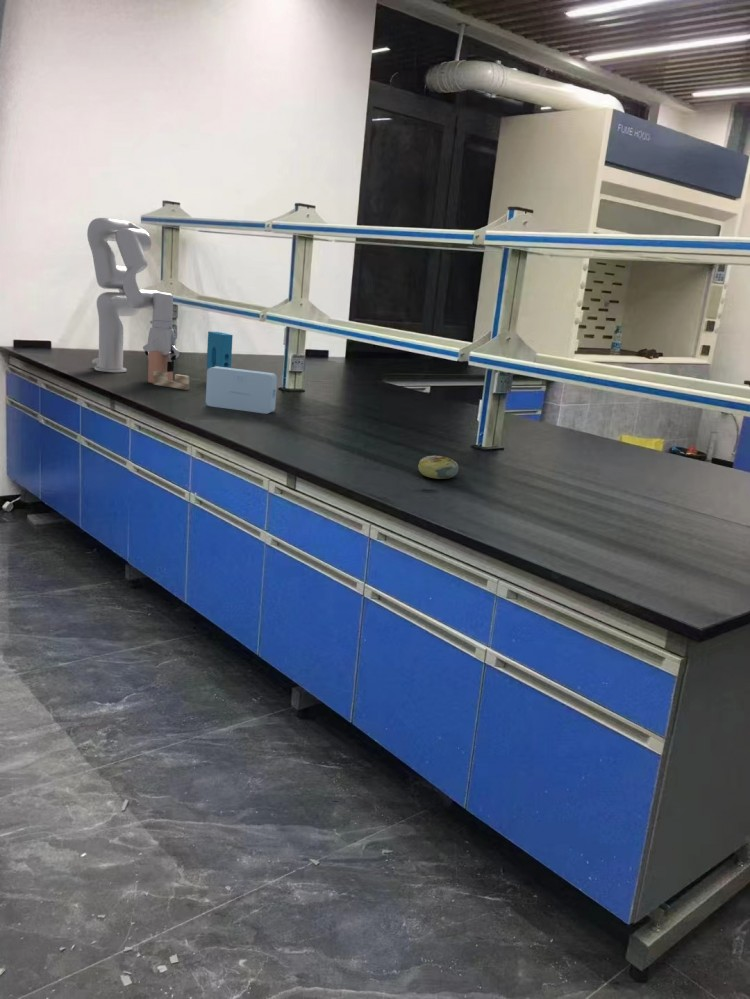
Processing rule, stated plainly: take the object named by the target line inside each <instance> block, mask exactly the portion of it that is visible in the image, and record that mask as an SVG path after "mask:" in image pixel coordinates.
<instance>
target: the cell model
mask: <svg viewBox="0 0 750 999" xmlns="http://www.w3.org/2000/svg"><path fill="white" fill-rule="evenodd" d="M417 466H418V471H419V473H420V474H421V475H423V476H424V477H426V478H427V477H428V478H431V479H437V480H443V479H451V478H453V477H455V476H456V475H457V474H458V473H459V464H458V463H457V461H455V460H454V459H452V458H450V457H447V456H442V455H428V456H427V455H426V456H425V457H422V458H421V459H420V460H419V463H418V465H417Z"/></svg>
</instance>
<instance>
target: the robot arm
mask: <svg viewBox="0 0 750 999" xmlns="http://www.w3.org/2000/svg"><path fill="white" fill-rule="evenodd" d="M86 232H87V235H86V236H87V241H88V245H89V248H90V251H91V254H92V259H93V266H94V274H95V277H96V282H97V284H98V286H99V287H100V288H102V289H104V290H105V289H106V290H118V292H116V291H105V292H103V293H101V294H100V295H98V296H97V299H96V309H97V314H98V315H97V316H98V357H97V358H93V359H92V360H91V363H92V364H96V365H95V366H94V370H95V371H97V372H102V373H103V372H105V373H125V372H127V370H128V369H127V368H126V367H124V325H123V321H121V317H133V316H136V315H137V313H138V311H139V310H143V311H144V310H146V311H147V310H148V311H152V318H151V319H152V320H150V321H149V323H150V325H151V327H150V328H149V332H148V336H147V337H148V338H147V343H146V344H145V345H143V347H142V349H143V351H144V354H145V356H146V358H147V359H148V360H149V351H159V352H160V354H161V355H166V356H167V358H168V360H169V362H167V372H173V373H174V369H175V368H174V365H175V362H176V360H177V359H178V358H179V355H180V354H181V351H180V350H179V349H178V348H177V347H176V344H175V342H176V341H175V338H176V337H175V332H174V329H173V314H174V313H173V312H174V308H173V307H174V296H173V293H170V292H163V291H162V292H161V291H158V290H151V289H140V288H139V286H138V283H137V279H136V277H137V274H138V273H141V272H143V271H144V270H146V269H147V267H148V260H147V258H146V256H145V253H144V252H148V251H149V250H150V249H151V246H152V238H151V235H150V234H149V233H148V231H146V230H145V229H143V228H142V227H140V226H138V225H137V224H135V223H133V222H130V221H127V220H122V219H115V218H110V217H96V218H94V219H92V220H91V221H90V222H89V224H88V227H87V230H86ZM108 241H110V242H115V243H116V244H117V247H118V251H119V253H120V256H121V258H122V261H123V263H124V265H118V264H117V262H116V255H115V251H114V250H113V248H112V246H111V245H110V244H109V243H108ZM173 354H174V356H173Z"/></svg>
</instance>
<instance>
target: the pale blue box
mask: <svg viewBox="0 0 750 999" xmlns="http://www.w3.org/2000/svg"><path fill="white" fill-rule="evenodd" d="M205 384H206V387H205V388H206V389H205V405H207V407H213V408H220V409H221V408H222V409H229V410H236V411H245V412H252V413H259V414H265V415H267V414H269V413H272V412H274V411H275V409H276V402H277V401H276V400H277V384H278V376H277V375H276V374H275V373H274V372H266V371H260V370H259V371H258V370H251V369H250V370H249V369H241V368H234V367H231V368H226V367H218V366H216V367H211V368H209V369H208V370H207V369H206V383H205Z"/></svg>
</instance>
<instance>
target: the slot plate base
mask: <svg viewBox="0 0 750 999" xmlns="http://www.w3.org/2000/svg"><path fill="white" fill-rule="evenodd" d="M152 385H155V386H160V387H168V388H174V389H180V390H186V391H187V390H189V389H190V375H185V374H184V375H183V374H174V380H173V381H170V380H168V373H166V372H160V371H153V383H152Z"/></svg>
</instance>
